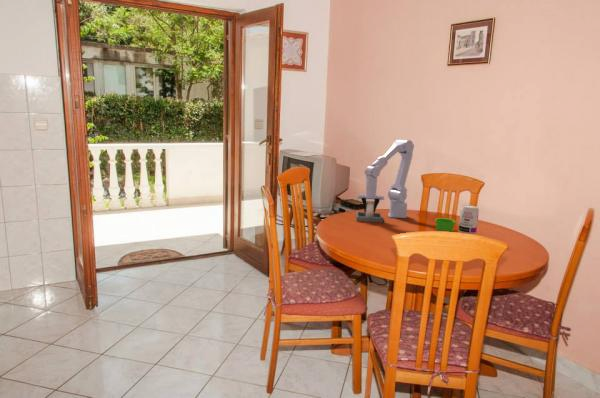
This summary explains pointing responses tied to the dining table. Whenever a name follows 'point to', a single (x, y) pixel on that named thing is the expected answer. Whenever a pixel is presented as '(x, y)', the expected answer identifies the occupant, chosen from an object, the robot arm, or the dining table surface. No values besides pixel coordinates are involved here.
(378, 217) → the tray
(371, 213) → the shaker
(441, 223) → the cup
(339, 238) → the dining table surface
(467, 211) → the supplement can
